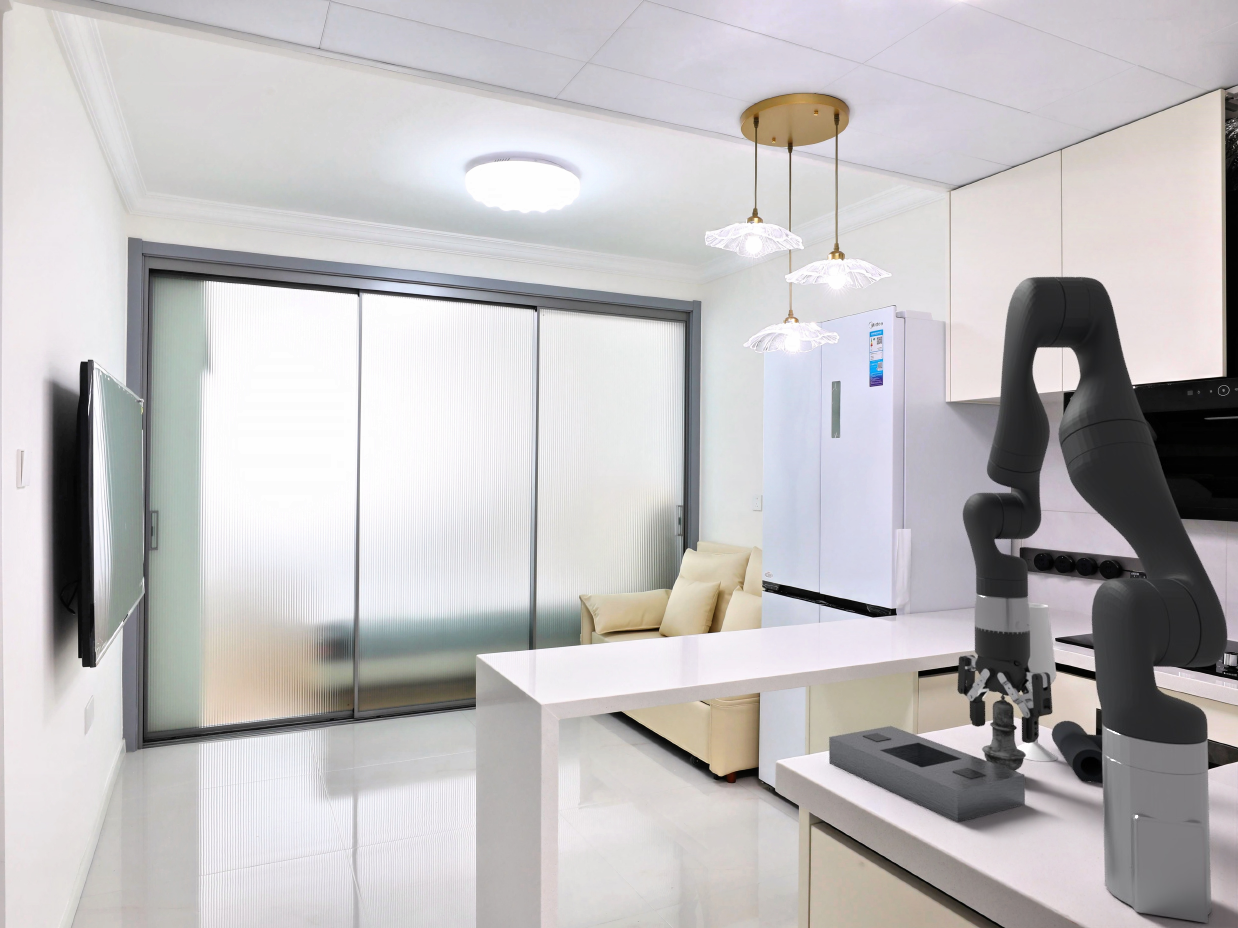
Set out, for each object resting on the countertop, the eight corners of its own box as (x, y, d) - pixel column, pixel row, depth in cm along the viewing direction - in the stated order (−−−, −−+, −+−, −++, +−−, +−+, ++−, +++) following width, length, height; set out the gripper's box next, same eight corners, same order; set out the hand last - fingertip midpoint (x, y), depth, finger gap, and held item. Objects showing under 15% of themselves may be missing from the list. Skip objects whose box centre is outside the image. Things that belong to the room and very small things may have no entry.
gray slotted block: (1024, 804, 105) (1024, 773, 105) (957, 822, 99) (957, 789, 100) (891, 750, 127) (890, 725, 127) (829, 762, 121) (829, 736, 121)
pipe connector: (1131, 724, 125) (1162, 753, 111) (1132, 757, 125) (1164, 791, 110) (1051, 718, 129) (1071, 746, 114) (1052, 750, 128) (1073, 782, 114)
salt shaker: (1007, 785, 112) (1005, 701, 112) (973, 771, 117) (972, 691, 118) (1035, 779, 114) (1034, 697, 115) (1001, 766, 120) (1000, 687, 120)
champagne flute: (1008, 745, 130) (1006, 601, 130) (1054, 750, 127) (1052, 603, 128) (1012, 757, 123) (1010, 606, 124) (1060, 763, 121) (1058, 609, 122)
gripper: (1063, 631, 112) (1064, 744, 112) (978, 615, 125) (979, 717, 124) (1028, 635, 109) (1029, 752, 108) (945, 619, 121) (946, 723, 121)
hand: (1002, 733), depth 116 cm, fingers open, 8 cm apart
